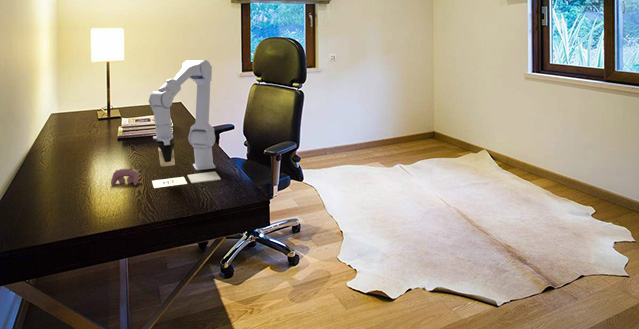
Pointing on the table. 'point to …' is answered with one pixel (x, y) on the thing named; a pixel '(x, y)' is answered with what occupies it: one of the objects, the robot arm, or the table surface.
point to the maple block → (163, 159)
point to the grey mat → (203, 177)
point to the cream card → (169, 182)
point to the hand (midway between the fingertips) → (167, 160)
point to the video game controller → (122, 173)
